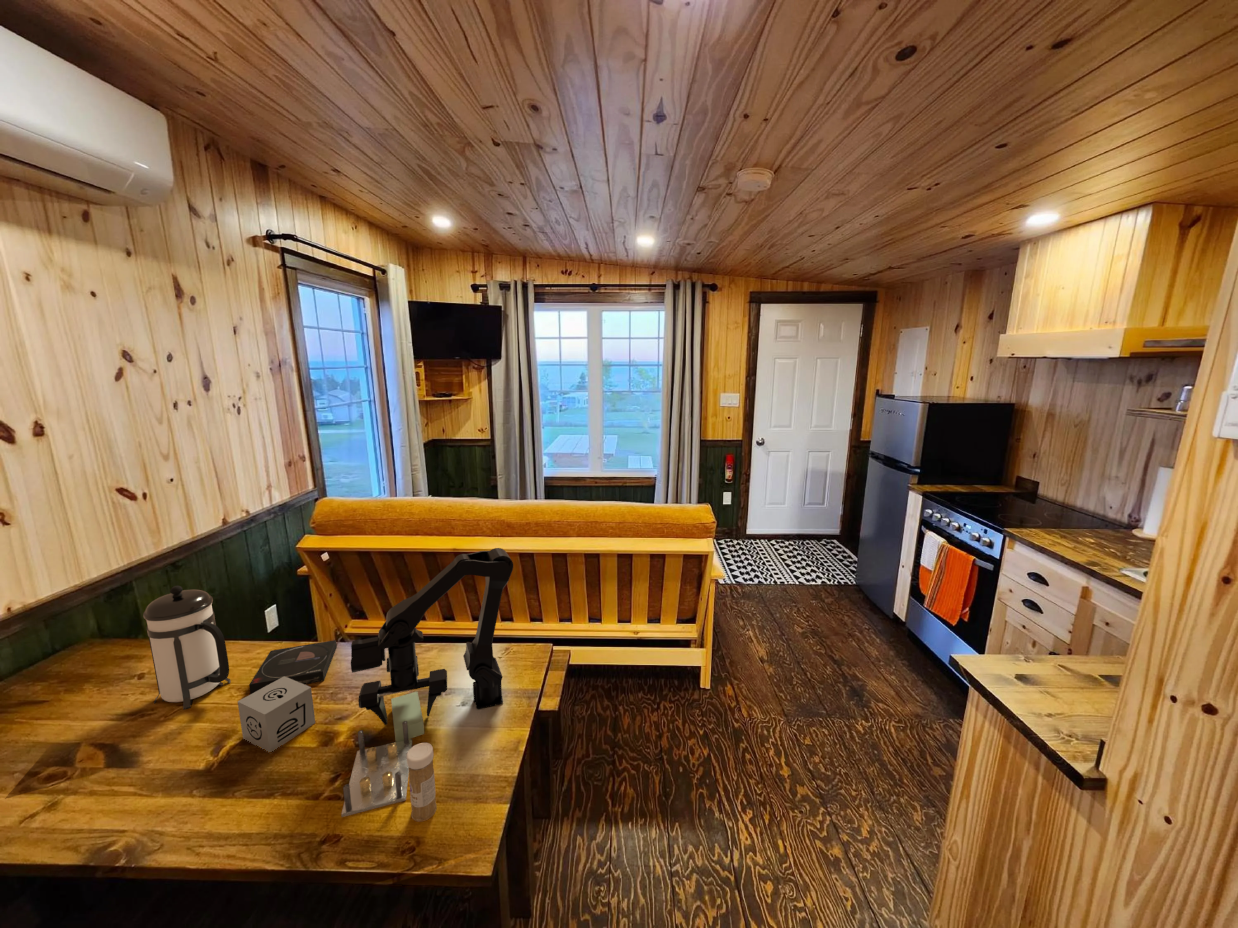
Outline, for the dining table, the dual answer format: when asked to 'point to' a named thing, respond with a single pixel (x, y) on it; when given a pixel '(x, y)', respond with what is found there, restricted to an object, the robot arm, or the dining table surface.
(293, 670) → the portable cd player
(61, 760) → the dining table surface
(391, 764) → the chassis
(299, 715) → the icon cube
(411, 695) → the board
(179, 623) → the coffee press
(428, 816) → the sprinkles bottle
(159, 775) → the dining table surface
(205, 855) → the dining table surface
